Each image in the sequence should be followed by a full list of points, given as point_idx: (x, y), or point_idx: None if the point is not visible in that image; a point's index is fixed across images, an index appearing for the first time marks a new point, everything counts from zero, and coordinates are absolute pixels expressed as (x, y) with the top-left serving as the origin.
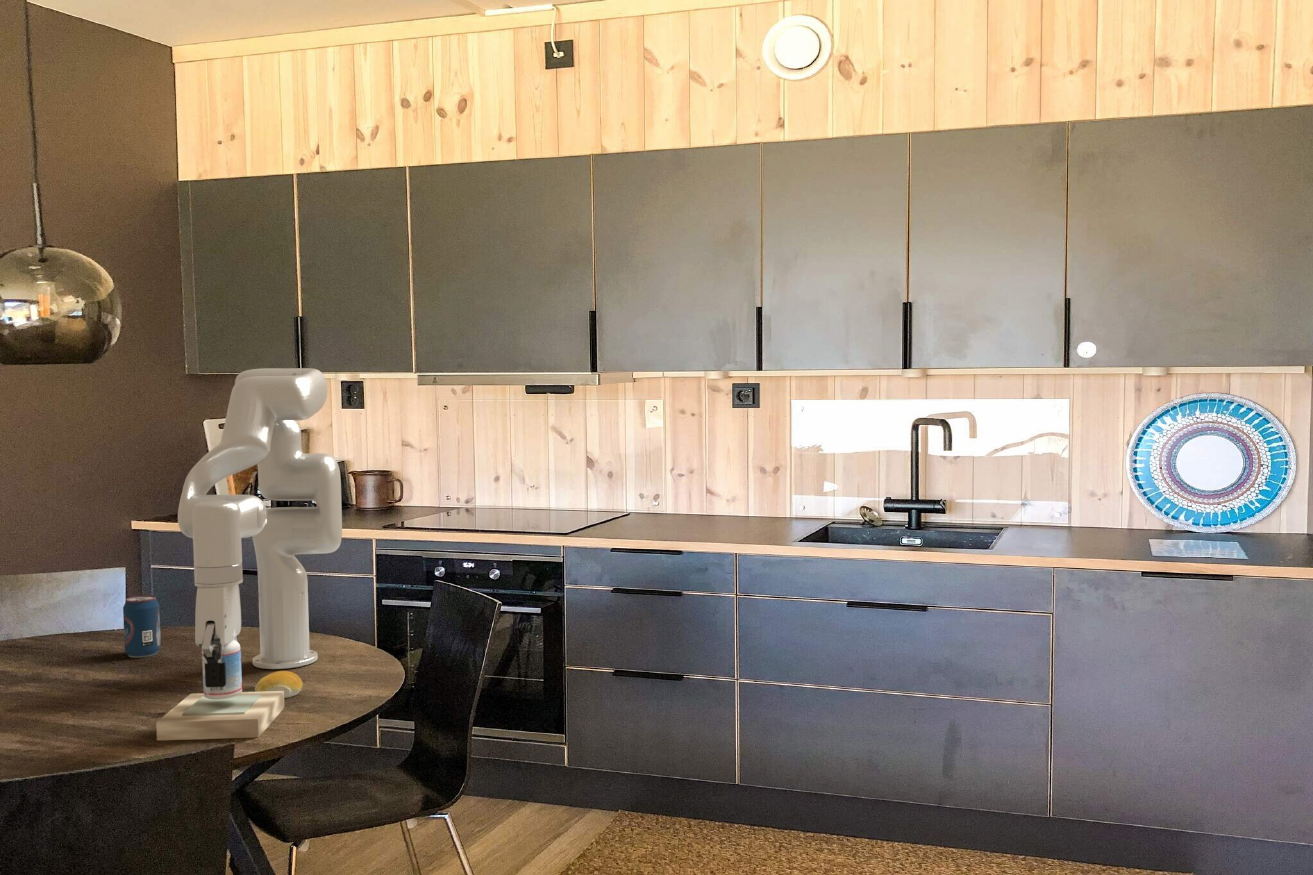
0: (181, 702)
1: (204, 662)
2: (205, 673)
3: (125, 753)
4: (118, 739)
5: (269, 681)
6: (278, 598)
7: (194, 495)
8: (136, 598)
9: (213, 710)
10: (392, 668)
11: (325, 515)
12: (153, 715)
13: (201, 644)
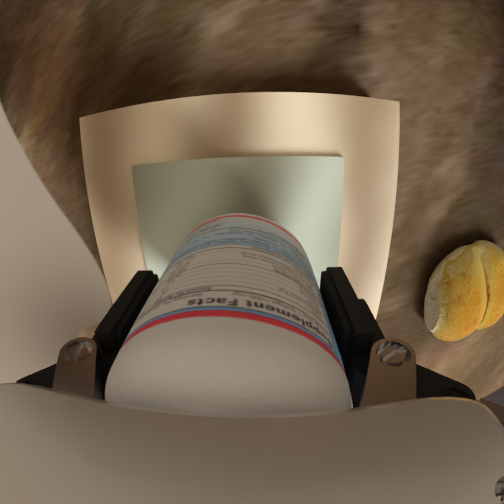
0: (293, 97)
1: (66, 344)
2: (118, 300)
3: (37, 99)
4: (124, 18)
5: (456, 302)
6: None
7: None
8: None
9: (170, 252)
10: (492, 391)
11: None
12: (336, 14)
13: (81, 395)
